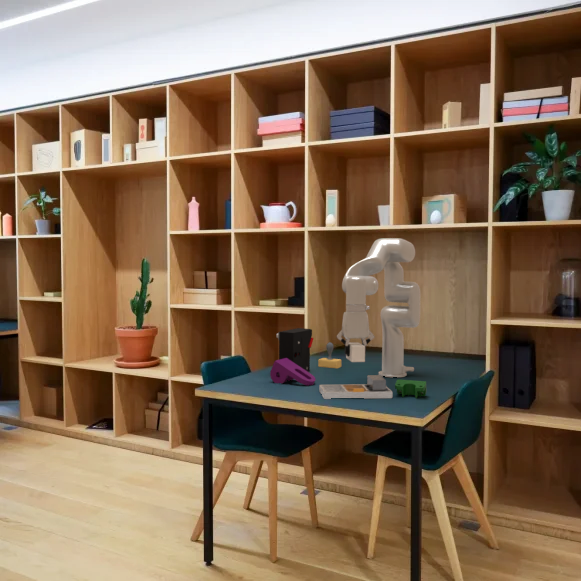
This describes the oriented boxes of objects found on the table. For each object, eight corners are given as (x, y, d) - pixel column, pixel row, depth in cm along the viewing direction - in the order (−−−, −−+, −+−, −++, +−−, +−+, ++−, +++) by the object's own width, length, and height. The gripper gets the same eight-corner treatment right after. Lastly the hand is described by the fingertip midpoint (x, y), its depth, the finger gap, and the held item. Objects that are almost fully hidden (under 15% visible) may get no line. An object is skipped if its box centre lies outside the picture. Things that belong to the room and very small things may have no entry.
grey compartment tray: (383, 390, 248) (383, 374, 248) (392, 398, 234) (392, 381, 234) (319, 391, 246) (319, 374, 246) (324, 399, 232) (324, 381, 232)
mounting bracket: (311, 396, 264) (279, 374, 272) (319, 379, 262) (286, 357, 269) (300, 400, 256) (267, 377, 264) (308, 383, 253) (275, 360, 261)
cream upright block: (346, 357, 244) (346, 342, 244) (358, 357, 245) (358, 342, 245) (351, 362, 234) (352, 346, 234) (364, 361, 235) (365, 346, 235)
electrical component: (294, 370, 292) (294, 327, 291) (313, 372, 287) (313, 329, 286) (274, 376, 277) (274, 331, 276) (294, 378, 272) (294, 333, 271)
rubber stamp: (318, 366, 302) (318, 342, 301) (323, 365, 307) (323, 341, 306) (336, 368, 297) (337, 343, 296) (341, 366, 302) (341, 342, 302)
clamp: (400, 407, 238) (390, 387, 237) (403, 400, 243) (393, 380, 242) (429, 399, 233) (419, 377, 231) (431, 392, 238) (421, 371, 237)
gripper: (375, 308, 243) (374, 354, 244) (332, 308, 242) (331, 354, 242) (379, 309, 236) (379, 357, 236) (335, 309, 234) (335, 357, 235)
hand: (355, 355), depth 239 cm, fingers closed on cream upright block, 5 cm apart
